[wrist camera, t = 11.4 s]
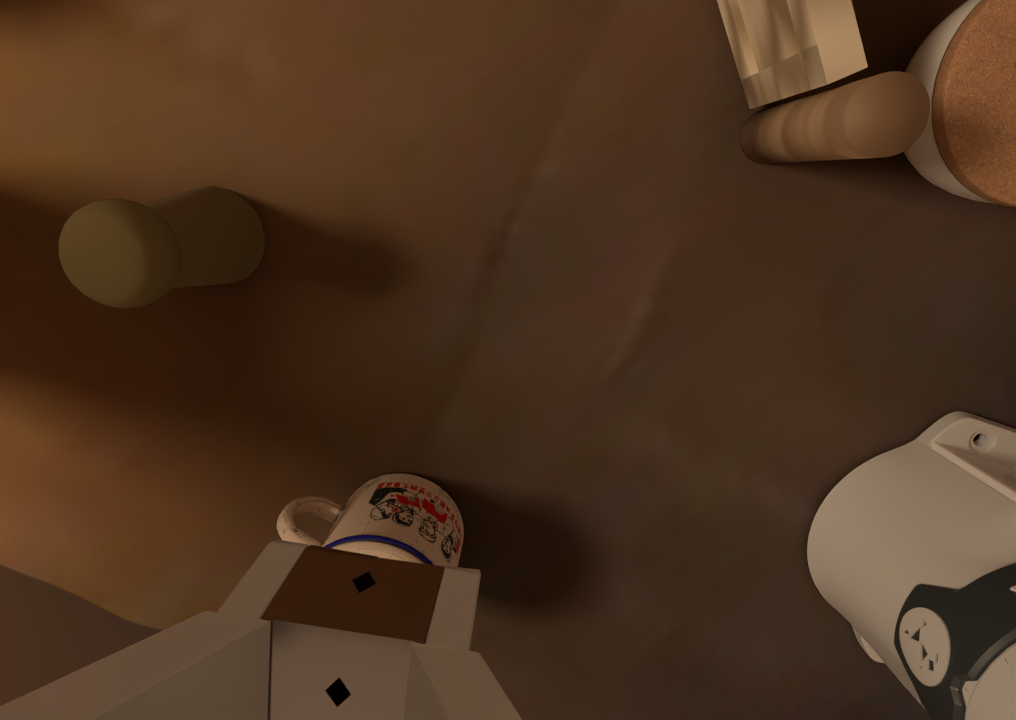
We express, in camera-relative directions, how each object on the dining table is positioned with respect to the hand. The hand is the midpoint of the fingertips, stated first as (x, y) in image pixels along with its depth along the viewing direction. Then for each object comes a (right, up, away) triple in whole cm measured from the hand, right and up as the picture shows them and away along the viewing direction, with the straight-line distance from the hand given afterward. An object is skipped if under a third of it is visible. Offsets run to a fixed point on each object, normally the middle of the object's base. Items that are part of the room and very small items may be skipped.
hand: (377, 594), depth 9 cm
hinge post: (+17, +16, +27) cm, 35 cm away
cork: (-16, +11, +30) cm, 36 cm away
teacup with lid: (-7, -8, +35) cm, 37 cm away
